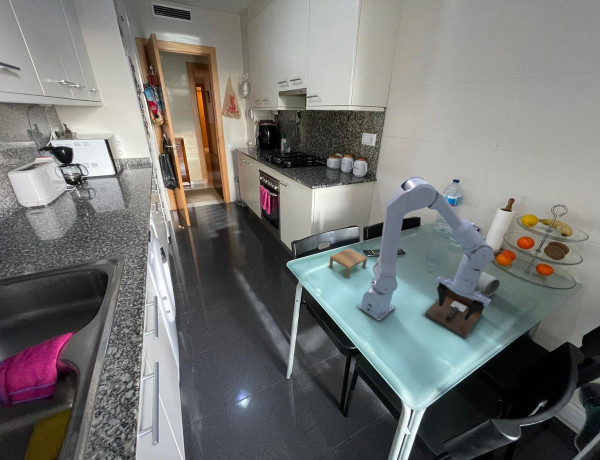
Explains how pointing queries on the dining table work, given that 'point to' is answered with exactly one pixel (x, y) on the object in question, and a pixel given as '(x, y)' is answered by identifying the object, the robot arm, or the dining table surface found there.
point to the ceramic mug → (487, 284)
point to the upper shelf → (348, 259)
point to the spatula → (455, 309)
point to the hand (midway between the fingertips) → (453, 311)
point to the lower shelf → (458, 321)
